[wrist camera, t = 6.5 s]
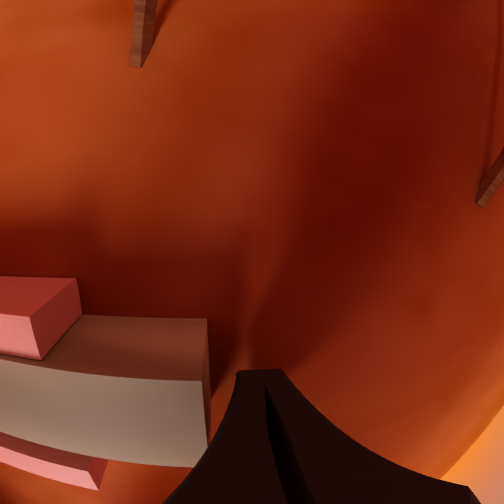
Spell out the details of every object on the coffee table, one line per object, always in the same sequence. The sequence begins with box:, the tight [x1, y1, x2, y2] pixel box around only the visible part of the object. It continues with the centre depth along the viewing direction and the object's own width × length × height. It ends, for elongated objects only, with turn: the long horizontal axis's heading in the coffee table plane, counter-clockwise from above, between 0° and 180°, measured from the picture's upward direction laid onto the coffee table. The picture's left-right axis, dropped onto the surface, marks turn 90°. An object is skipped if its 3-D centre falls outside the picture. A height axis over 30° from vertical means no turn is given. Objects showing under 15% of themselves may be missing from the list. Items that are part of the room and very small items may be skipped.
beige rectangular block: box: [0, 314, 211, 467], centre depth 8 cm, size 3×9×4 cm, turn 89°
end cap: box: [0, 276, 108, 490], centre depth 8 cm, size 7×7×3 cm
